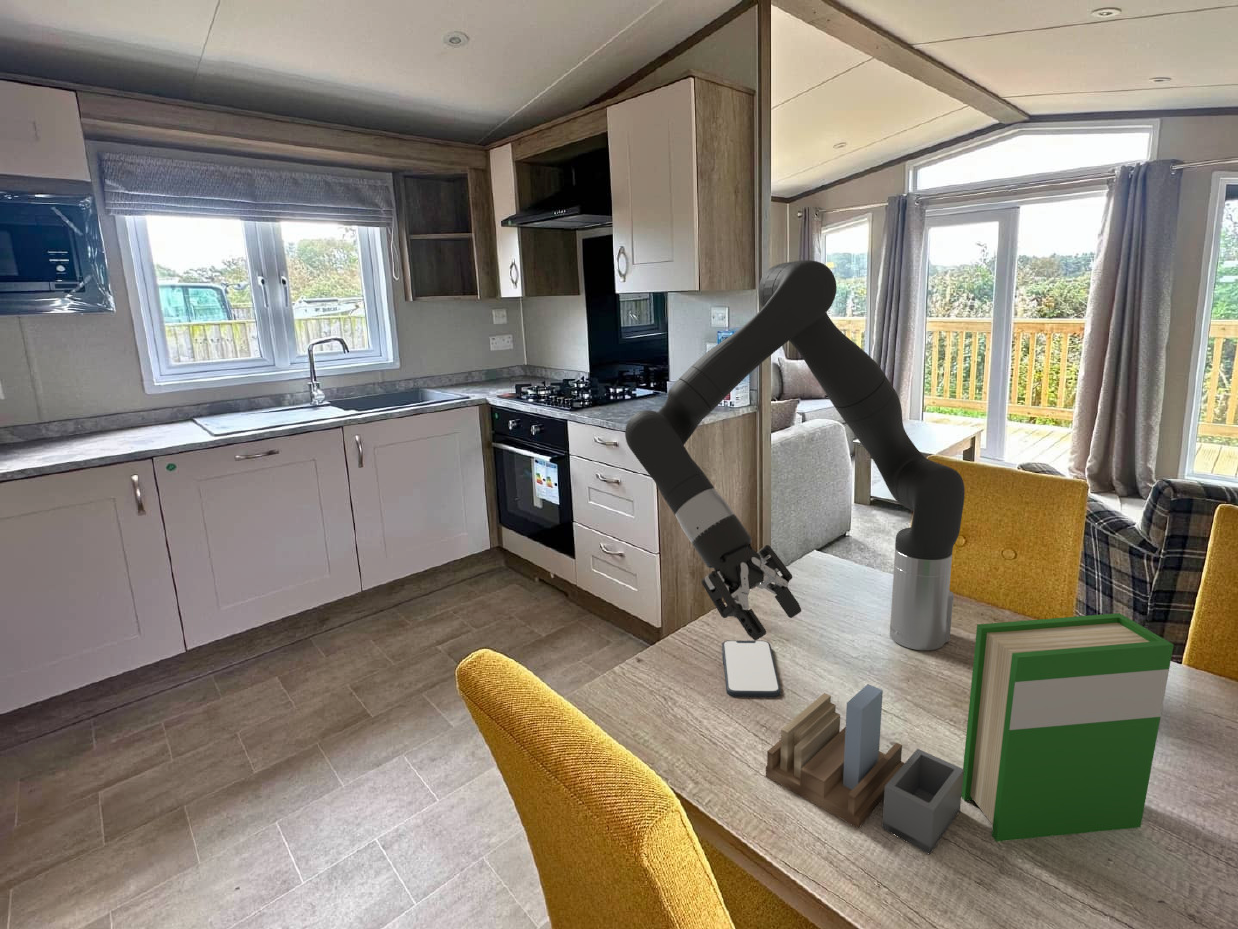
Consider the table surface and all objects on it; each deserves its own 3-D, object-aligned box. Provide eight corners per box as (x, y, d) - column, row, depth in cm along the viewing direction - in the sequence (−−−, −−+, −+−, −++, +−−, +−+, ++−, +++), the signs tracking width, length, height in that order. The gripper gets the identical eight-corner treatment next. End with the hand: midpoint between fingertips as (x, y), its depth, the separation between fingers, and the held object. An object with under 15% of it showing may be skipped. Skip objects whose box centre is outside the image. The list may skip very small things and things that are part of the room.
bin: (882, 828, 80) (884, 786, 79) (914, 788, 86) (917, 748, 85) (929, 854, 76) (933, 810, 75) (959, 810, 82) (964, 769, 81)
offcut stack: (780, 768, 89) (781, 729, 87) (823, 729, 96) (824, 693, 95) (800, 779, 87) (801, 739, 85) (842, 738, 94) (844, 701, 93)
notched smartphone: (782, 701, 107) (770, 647, 122) (782, 692, 106) (770, 639, 122) (726, 700, 108) (721, 647, 123) (726, 692, 107) (721, 639, 123)
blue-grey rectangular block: (842, 785, 85) (846, 703, 82) (863, 763, 89) (867, 684, 86) (857, 793, 84) (862, 709, 81) (877, 770, 88) (882, 690, 85)
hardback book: (996, 841, 78) (1017, 657, 72) (960, 795, 85) (977, 624, 79) (1140, 827, 79) (1173, 644, 73) (1092, 783, 86) (1119, 613, 80)
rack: (765, 776, 90) (766, 750, 89) (816, 730, 98) (817, 706, 97) (858, 828, 80) (860, 800, 79) (905, 773, 89) (907, 747, 88)
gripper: (694, 527, 89) (766, 634, 84) (756, 502, 98) (824, 596, 93) (665, 554, 94) (731, 656, 89) (727, 528, 103) (790, 618, 98)
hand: (779, 625), depth 91 cm, fingers open, 8 cm apart
